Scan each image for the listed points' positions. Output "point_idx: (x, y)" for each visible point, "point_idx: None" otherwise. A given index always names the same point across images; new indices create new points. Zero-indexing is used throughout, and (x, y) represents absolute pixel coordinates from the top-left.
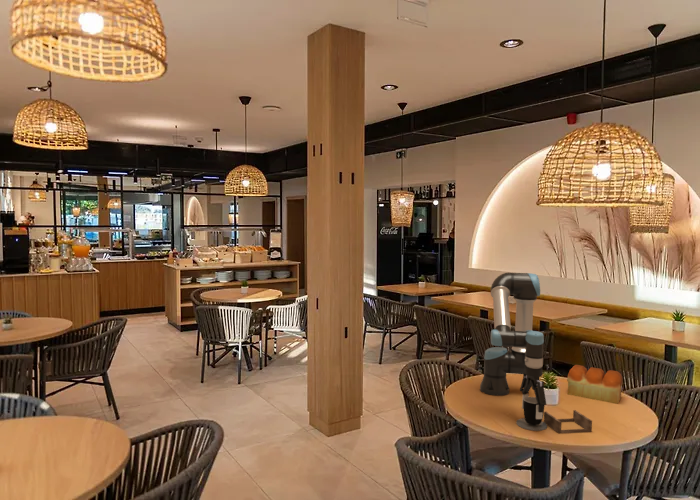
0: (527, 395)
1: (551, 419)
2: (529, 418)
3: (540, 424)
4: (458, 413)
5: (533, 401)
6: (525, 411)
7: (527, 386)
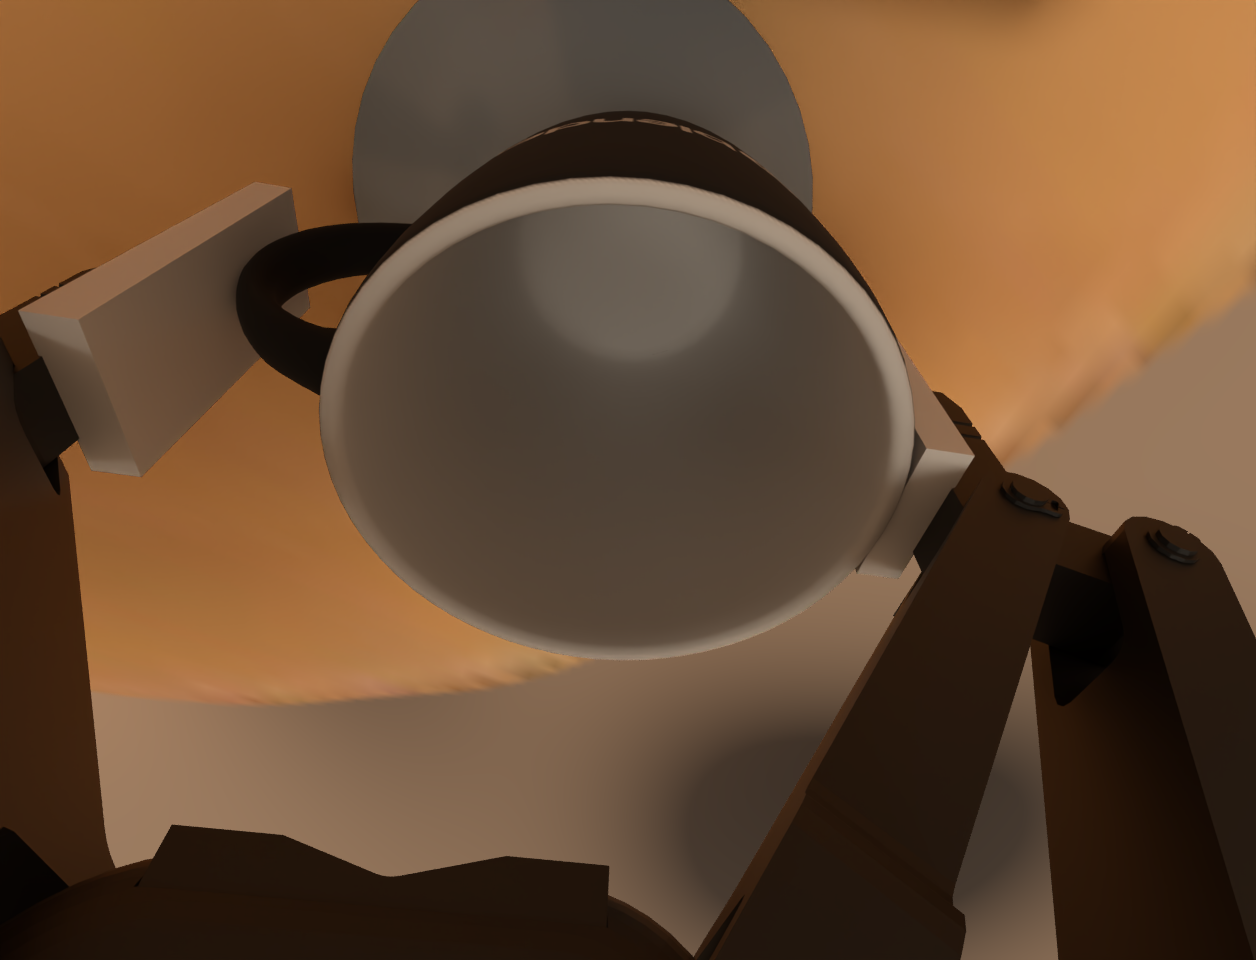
0: (113, 354)
1: None
2: (695, 417)
3: (654, 102)
4: (215, 693)
5: (404, 284)
6: (627, 501)
7: (82, 768)
